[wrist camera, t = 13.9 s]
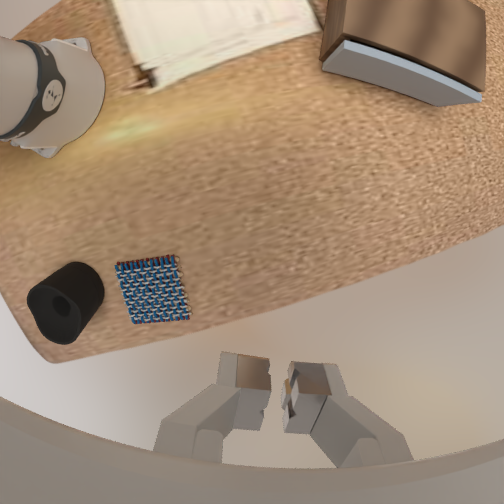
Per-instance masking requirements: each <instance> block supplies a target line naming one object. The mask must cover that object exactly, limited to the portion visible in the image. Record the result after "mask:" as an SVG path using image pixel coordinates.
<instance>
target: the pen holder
mask: <svg viewBox="0 0 504 504" xmlns="http://www.w3.org/2000/svg"><path fill="white" fill-rule="evenodd" d="M103 297H104V289H103V285H102V282H101V280H100V278H99V276H98V275H97V273H96V272H95V271H94V270H93V269H92V268H90V267H89V266H87V265H85V264H83V263H79V262H73V263H69V264H67V265H65V266H64V267H62V268H61V269H59V270H57V271H56V272H54V273H53V274H52V275H50V276H49V277H47V278H46V279H44V280H43V281H41V282H40V283H39V284H37V285H36V286H34V287H33V288H32V289H31V290H30V291H29V293H28V296H27V304H28V307H29V309H30V311H31V312H32V314H33V316H34V319H35V321H36V324H37V326H38V328H39V330H40V332H41V333H42V334H43V336H45V337H46V338H47V339H48V340H50V341H52V342H54V343H57V344H62V345H66V344H70V343H72V342H74V341H75V340H76V339H77V337H78V336H79V335H80V333H81V332H82V330H83V329H84V328H85V326H86V325H87V323H88V322H89V321H90V319H91V318H92V316H93V315H94V314H95V312H96V311H97V309H98V308H99V306H100V305H101V303H102V301H103Z"/></svg>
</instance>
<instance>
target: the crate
mask: <svg viewBox="0 0 504 504" xmlns="http://www.w3.org/2000/svg"><path fill="white" fill-rule="evenodd" d="M344 40H347V41H350V42H354V43H357V44H361V45H364V46H367V47H370V48H373V49H377V50H380V51H383V52H386V53H388V54H391V55H394V56H397V57H400V58H402V59H405V60H408V61H410V62H413V63H415V64H418V65H420V66H423V67H425V68H427V69H430V70H432V71H434V72H437V73H439V74H441V75H443V76H446V77H448V78H450V79H452V80H454V81H456V82H458V83H460V84H462V85H464V86H466V87H468V88H470V89H472V90H474V91H476V92H483V91H485V76H486V21H485V11H484V10H483V9H481V8H480V7H478V6H476V5H475V4H473V3H471V2H470V1H468V0H328V6H327V13H326V19H325V26H324V33H323V39H322V45H321V52H320V58H319V60H320V61H324V62H325V61H326V59H327V58H328V57H329V56H330V55H331V54H332V53H333V52H334V51H335V50H336V49H337V48H338V47H339V46H340V44H341V43H342V42H343V41H344Z"/></svg>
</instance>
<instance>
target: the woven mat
mask: <svg viewBox="0 0 504 504" xmlns="http://www.w3.org/2000/svg"><path fill="white" fill-rule="evenodd" d="M166 257H167V258H164V256H161V258H160V259H159V258H158V257H156V258H155V260H153V258H151V259H150V261H149V259H148V258H146V261H143V259H141V260H140V262H139V261H138V260H135V261H136V262H133V261H131V262H130V263H129V262H128V261H126V264H124V262H121V264H120V263H119V262H117V265H118V266H117V265H115V269H116V271H117V272H115V273H116V274H117V275H116V277H118V278H119V279H117V281H119V282H120V285H118V286H119V287H121V288H122V289H120V290H121V291H123V293H121V295H122V294H123V296H124V297H125V298H123V300H125V302H124V304H125V303H126V304H127V306H126V307H128V309H129V311H127V313H128V312H129V314H130V315H129V316H130V317H131V318H129V319H131V320H132V322H133V323H134V324H142V323H151V322H154V323H155V322H160V320H161V321H162V322H165V319H166V322H167V321H170V319H171V321H174V320H175V319H176V321H179V320H180V319H181V320H185V318H186V320H189V319H190V318H189V315H192V314H193V313H191V312H188V311H189V310H191V306H190V305H189V306H187V304H186V303H187V302H190V300H189V299H185V298H184V297H186V298H187V296H188V294H187V293H184V292H183V290H184V289H185V287H184V286H182V285H181V282H183V280H182V279H180V277H181V276H183V273H182V272H179V271H178V270H177V269H178V268H181V266H176V262H178V261H179V260H180V259H179V258H178V257H174V255H171V257H170V258H169V255H166ZM175 261H176V262H175ZM165 262H166V264H167V265H165ZM170 262H171V264H170ZM160 263H161V265H160ZM155 265H156V266H155ZM145 267H146V268H145ZM125 268H126V269H125ZM135 268H136V269H135ZM126 270H127V271H126ZM172 270H174V272H173V271H172ZM167 271H168V273H167ZM152 273H153V274H152ZM157 273H158V274H157ZM169 277H170V279H169ZM174 277H175V278H176V279H175V278H174ZM164 278H165V280H164ZM153 279H154V280H155V281H154V280H153ZM144 281H145V282H144ZM125 284H126V285H125ZM170 285H171V286H172V287H171V286H170ZM161 287H162V288H161ZM166 287H167V288H166ZM141 289H142V290H141ZM127 291H128V292H127ZM162 292H163V294H162ZM167 292H168V293H167ZM173 292H174V293H173ZM153 295H154V296H153ZM134 297H135V298H134ZM179 298H180V299H179ZM169 299H170V301H169ZM164 300H165V301H164ZM181 303H182V306H181ZM166 305H167V307H166ZM161 306H162V308H161ZM171 306H172V307H171ZM142 308H143V309H142ZM152 308H153V309H152ZM168 311H169V312H168ZM183 311H184V313H183ZM178 312H179V313H178ZM168 313H169V314H168ZM149 315H150V316H149ZM140 316H141V317H140ZM184 316H185V317H184ZM179 317H180V318H179ZM169 318H170V319H169Z"/></svg>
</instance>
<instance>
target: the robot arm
mask: <svg viewBox="0 0 504 504" xmlns="http://www.w3.org/2000/svg"><path fill="white" fill-rule="evenodd" d="M75 44H76V45H75ZM104 92H105V80H104V75H103V71H102V69H101V67H100V65H99V63H98V62H97V61H96V59H95V58H94V57H93V55H92V53H91V47H90V42H89V40H88V39H86V38H83V37H79V38H72V39H66V40H59V39H54V38H53V39H52V40H51V41H45V42H41V43H37V42H33V41H29V40H28V41H26V40H16V41H14V40H11V39H8V38H4V37H1V36H0V141H4V142H8V141H9V140H11V143H10V144H11V145H13V146H19V145H20V148H23V149H31V150H33V151H35V152H36V153H38V154H40V155H41V156H43V157H45V158H52V157H53V156H55V155H56V154H57V153H58V151H59V150H60V149H61V148H62V147H63V146H64V145H65V144H67V143H69V142H71V141H73V140H75V139H77V138H78V137H80V136H81V135H82V134H83V133H85V132H86V131H87V130H88V128H89V127H90V126H91V125H92V123H93V122H94V120H95V119H96V117H97V115H98V113H99V111H100V108H101V106H102V102H103V98H104ZM43 148H44V149H43ZM269 367H270V363H269V359H268V358H263V357H256V356H249V355H243V354H236V353H230V352H223V351H222V352H221V355H220V362H219V369H218V375H217V382H216V384H211V385H210V386H208V387H207V388H206V389H204V390H203V391H202V392H200V393H199V394H198V395H196V396H195V397H194V398H193V399H191V400H189V401H188V402H187V403H185V404H184V405H183V406H181V407H180V408H178V409H177V410H176V411H174V412H173V413H171V414H170V415H168V416H167V417H166V418H164V419H163V420H162V421H161V425H160V428H159V431H158V435H157V439H156V442H155V445H154V449H153V451H150V450H146V449H141V448H137V447H134V446H130V445H126V444H122V443H119V442H115V441H112V440H108V439H105V438H101V437H98V436H95V435H92V434H89V433H86V432H83V431H80V430H77V429H75V428H72V427H69V426H66V425H64V424H61V423H58V422H56V421H53V420H51V419H48V418H46V417H43V416H41V415H39V414H36V413H34V412H32V411H29V410H27V409H25V408H23V407H21V406H19V405H16V404H14V403H12V402H10V401H8V400H6V399H4V398H2V397H0V504H504V439H502V440H499V441H496V442H493V443H489V444H486V445H482V446H479V447H475V448H471V449H467V450H463V451H459V452H455V453H450V454H446V455H441V456H436V457H431V458H425V459H420V460H414V459H413V457H412V455H411V452H410V450H409V447H408V445H407V443H406V440H405V438H404V436H403V434H401V433H400V432H399V431H397V430H396V429H395V428H393V427H392V426H391V425H389V424H388V423H387V422H386V421H384V420H383V419H381V418H380V417H379V416H378V415H376V414H375V413H374V412H372V411H371V410H370V409H368V408H367V407H366V406H365V405H363V404H362V403H361V402H359V401H358V400H357V399H356V398H354V397H353V396H348V393H347V390H346V387H345V384H344V381H343V379H342V376H341V373H340V370H339V368H338V366H337V364H329V363H321V364H319V363H307V362H296V361H291V363H290V365H289V368H288V377H289V378H288V379H286V380H285V381H284V385H283V388H282V394H281V406H282V408H283V409H284V410H285V412H284V415H283V426H284V432H285V433H297V434H298V433H299V434H310V436H311V437H312V439H313V440H314V441H315V442H316V443H317V445H318V446H319V447H320V448H321V449H322V451H323V452H324V453H325V454H326V455H327V457H328V458H329V459H330V460H331V461H332V462H333V463H334V465H335V466H336V467H337V468H319V469H296V468H294V469H293V468H270V467H254V466H243V465H233V464H224V463H222V448H223V439H224V438H225V437H226V436H227V435H228V434H229V433H230V432H231V431H232V429H244V430H257V431H258V430H260V427H261V424H262V421H263V418H264V413H263V411H264V410H263V409H265V408H266V407H267V405H268V401H269V398H270V394H271V377H270V376H271V375H269V373H268V370H269Z"/></svg>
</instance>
